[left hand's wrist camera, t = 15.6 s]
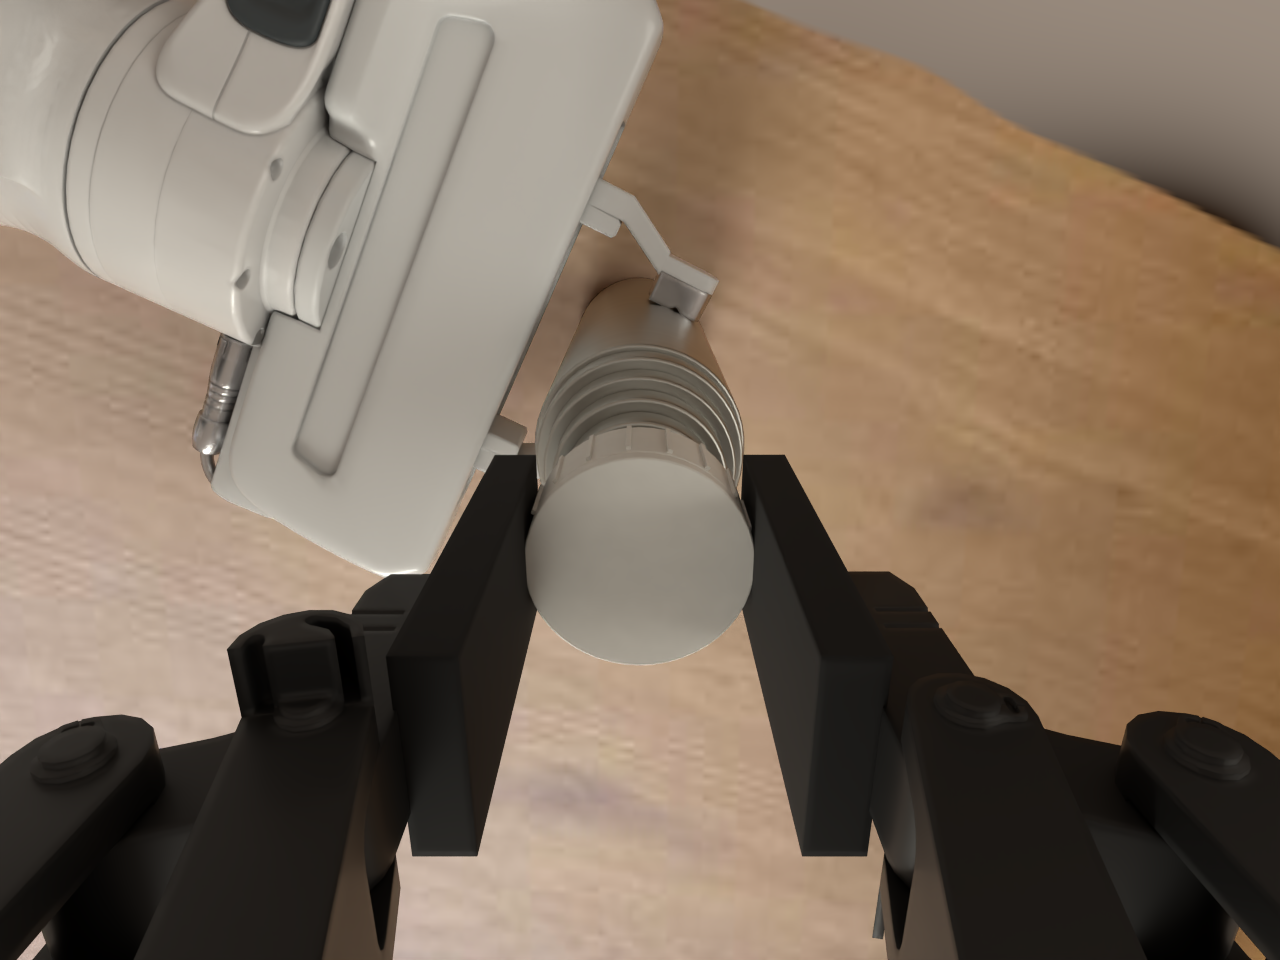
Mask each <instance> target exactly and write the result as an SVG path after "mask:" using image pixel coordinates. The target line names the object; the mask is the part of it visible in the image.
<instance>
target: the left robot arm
mask: <svg viewBox="0 0 1280 960" xmlns="http://www.w3.org/2000/svg"><path fill="white" fill-rule="evenodd" d="M537 493H538V484H537V464H536V455H494V457H493V459H492V461H491V463H490V465H489V466H488V468H487V470H486V472H485V474H484V476H483V478H482V479H481V481H480V483H479V485H478V487H477V489H476V490H475V492H474V494H473V496H472V498H471V500H470V502H469V503H468V505H467V507H466V509H465V511H464V513H463V514H462V516H461V518H460V520H459V522H458V524H457V526H456V527H455V529H454V531H453V533H452V535H451V537H450V538H449V540H448V542H447V544H446V546H445V548H444V550H443V551H442V553H441V555H440V557H439V559H438V561H437V562H436V564H435V566H434V568H433V570H432V572H431V574H390V575H389V576H387V577H386V578H384V579H383V580H381V581H380V582H378V583H377V584H375V585H374V586H372V587H371V588H369V589H368V590H366V591H365V592H364V594H363V595H362V597H361V598H360V600H359V601H358V603H357V604H356V605H355V607H354V608H353V610H352V614H346V613H342V612H338V611H334V610H308V611H302V612H297V613H291V614H286V615H282V616H279V617H276V618H274V619H271V620H268V621H265V622H262V623H260V624H258V625H256V626H255V627H253V628H251V629H250V630H248V631H246V632H245V633H243V634H241V635H239V637H238V638H237V639H236V640H235V641H234V642H233V643H232V644H231V645H230V647H229V648H228V649H227V652H228V656H229V661H230V666H231V670H232V675H233V679H234V684H235V689H236V693H237V698H238V703H239V707H240V712H241V716H242V718H241V720H240V722H239V725H238V727H237V729H236V731H235V732H234V733H230V734H227V735H223V736H219V737H215V738H211V739H206V740H201V741H196V742H191V743H187V744H182V745H177V746H172V747H167V748H162V749H159V748H158V744H157V740H156V736H155V733H154V729H153V727H152V726H150V725H149V724H148V723H147V722H146V721H144V720H143V719H142V718H137V717H132V716H126V715H112V716H100V717H92V718H87V719H82V721H79V722H78V721H75V722H72V723H69V724H66V725H63V726H61V727H59V728H58V729H56V730H53V731H51V732H49V733H47V734H45V735H42V736H40V737H38V738H36V739H34V740H33V741H31V742H30V743H28V744H27V745H25V746H24V747H22V748H21V749H20V750H18V751H17V752H15V753H14V754H12V755H11V756H10V757H8V758H7V759H6V760H5V761H4V762H2V763H1V764H0V960H17V959H18V957H19V956H20V955H21V954H22V953H23V952H24V950H25V949H26V948H27V947H28V946H29V945H30V944H31V942H32V941H33V940H34V939H35V938H36V937H37V935H38V934H39V933H40V932H41V931H42V933H43V936H44V939H45V941H46V944H45V945H44V947H43V948H42V949H41V950H40V951H39V953H38V954H37V955H36V956H35V957H34V959H33V960H393V950H394V941H395V932H396V923H397V914H398V905H399V896H400V881H399V874H398V867H397V860H396V852H397V849H398V846H399V844H400V841H401V838H402V835H403V833H404V830H405V827H406V825H407V822H408V827H409V834H410V842H411V849H412V856H477V855H478V851H479V847H480V843H481V839H482V835H483V831H484V826H485V822H486V818H487V814H488V810H489V806H490V802H491V798H492V793H493V789H494V785H495V781H496V777H497V773H498V769H499V765H500V760H501V756H502V752H503V748H504V744H505V740H506V736H507V732H508V727H509V723H510V719H511V715H512V711H513V707H514V703H515V699H516V694H517V690H518V686H519V682H520V678H521V674H522V670H523V666H524V661H525V657H526V653H527V649H528V645H529V641H530V637H531V633H532V628H533V624H534V620H535V616H536V612H537V608H536V607H535V605H534V603H533V600H532V598H531V596H530V594H529V590H528V587H527V573H526V556H525V543H526V538H527V535H528V532H529V528H530V525H531V522H532V519H533V516H534V515H533V514H531V511H532V508H533V505H534V502H535V499H536V496H537ZM741 500H743V502H744V505H745V508H746V511H747V514H748V517H749V520H750V523H751V526H752V529H751V534H752V537H753V542H754V562H753V579H752V587H751V591H750V594H749V596H748V598H747V601H746V603H745V605H744V607H743V608H742V610H743V614H744V618H745V622H746V627H747V631H748V635H749V639H750V643H751V647H752V651H753V655H754V660H755V664H756V668H757V672H758V676H759V680H760V684H761V688H762V693H763V697H764V701H765V705H766V709H767V713H768V717H769V721H770V726H771V730H772V734H773V738H774V742H775V746H776V750H777V754H778V759H779V763H780V767H781V771H782V775H783V779H784V783H785V787H786V792H787V796H788V800H789V804H790V808H791V812H792V816H793V820H794V825H795V829H796V833H797V837H798V841H799V845H800V849H801V853H802V856H867V853H868V845H869V838H870V830H871V823H872V819H873V822H874V825H875V828H876V830H877V833H878V836H879V838H880V841H881V844H882V847H883V849H884V852H885V853H884V860H883V867H882V874H881V881H880V888H879V895H878V902H877V909H876V916H875V923H874V930H873V937H872V938H878V939H883V934H884V931H885V940H886V949H887V958H888V960H1251V959H1250V958H1249V957H1248V956H1247V955H1246V954H1245V952H1244V951H1243V950H1242V949H1241V948H1240V946H1239V945H1238V944H1237V943H1236V942H1235V941H1234V939H1235V937H1236V934H1237V931H1238V928H1239V927H1240V928H1241V929H1242V930H1243V932H1244V933H1245V934H1246V935H1247V936H1248V937H1249V938H1250V940H1251V941H1252V942H1253V943H1254V944H1255V945H1256V947H1257V948H1258V949H1259V950H1260V951H1261V952H1262V954H1263V955H1264V956H1265V957H1266V959H1265V960H1280V760H1279V759H1278V758H1277V757H1276V756H1274V755H1273V754H1272V753H1271V752H1270V751H1268V750H1267V749H1265V748H1264V747H1262V746H1261V745H1259V744H1258V743H1256V742H1255V741H1253V740H1252V739H1250V738H1249V737H1247V736H1246V735H1244V734H1242V733H1240V732H1237V731H1235V730H1233V729H1231V728H1228V727H1226V726H1224V725H1222V724H1221V723H1219V722H1217V721H1214V720H1211V719H1208V718H1204V717H1202V718H1200V717H1199V716H1197V715H1191V714H1186V713H1175V712H1164V711H1156V712H1151V713H1145V714H1140V715H1137V716H1136V717H1135V718H1134V719H1133V720H1132V721H1130V722H1129V723H1128V724H1127V726H1126V730H1125V734H1124V738H1123V741H1122V745H1121V746H1120V745H1115V744H1110V743H1105V742H1100V741H1095V740H1090V739H1085V738H1080V737H1075V736H1070V735H1066V734H1062V733H1058V732H1055V731H1051V730H1047V729H1044V728H1043V726H1042V723H1041V721H1040V719H1039V717H1038V715H1037V714H1036V713H1035V711H1034V710H1033V709H1032V707H1031V706H1030V705H1029V703H1028V702H1027V701H1026V700H1024V699H1023V698H1021V697H1020V696H1019V695H1017V694H1016V693H1014V692H1013V691H1011V690H1010V689H1009V688H1007V687H1004V686H1002V685H999V684H997V683H995V682H992V681H990V680H987V679H985V678H981V677H976V676H974V675H973V673H972V672H971V670H970V669H969V667H968V666H967V664H966V663H965V662H964V660H963V659H962V657H961V656H960V654H959V653H958V651H957V650H956V648H955V647H954V645H953V644H952V643H951V641H950V640H949V638H948V637H947V635H946V634H945V632H944V631H943V629H942V628H939V624H938V622H937V621H936V619H935V618H934V616H933V615H932V613H931V612H928V608H927V606H926V605H925V603H924V602H923V600H922V599H921V597H920V596H919V594H918V593H917V591H916V590H915V589H914V588H913V587H912V586H910V585H909V584H907V583H906V582H904V581H903V580H901V579H899V578H898V577H896V576H895V575H893V574H892V573H890V572H848V571H847V569H846V567H845V565H844V564H843V562H842V560H841V558H840V556H839V554H838V552H837V551H836V549H835V547H834V545H833V543H832V541H831V540H830V538H829V536H828V534H827V532H826V530H825V528H824V527H823V525H822V523H821V521H820V519H819V517H818V516H817V514H816V512H815V510H814V508H813V506H812V504H811V503H810V501H809V499H808V497H807V495H806V493H805V492H804V490H803V488H802V486H801V484H800V482H799V480H798V479H797V477H796V475H795V473H794V471H793V469H792V468H791V466H790V464H789V462H788V460H787V458H786V456H785V455H743V473H742V493H741Z"/></svg>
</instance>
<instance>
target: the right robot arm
mask: <svg viewBox="0 0 1280 960" xmlns="http://www.w3.org/2000/svg"><path fill="white" fill-rule="evenodd" d="M662 37H663V20H662V16H661V13H660V10H659V7H658V5H657V2H656V0H0V225H2V226H8V227H13V228H17V229H21V230H24V231H27V232H29V233H31V234H33V235H36V236H38V237H40V238H41V239H43V240H45V241H46V242H48V243H50V244H51V245H52V246H54V247H55V248H56V249H57V250H58V251H60V252H61V253H62V254H63V255H64V256H66V257H67V258H68V259H70V260H71V261H72V262H73V263H75V264H76V265H77V266H79V267H80V268H82V269H83V270H85V271H86V272H88V273H90V274H92V275H94V276H96V277H98V278H100V279H102V280H105V281H107V282H109V283H112V284H114V285H116V286H118V287H121V288H123V289H125V290H127V291H129V292H132V293H134V294H136V295H138V296H141V297H143V298H145V299H147V300H150V301H152V302H154V303H156V304H159V305H161V306H163V307H165V308H168V309H170V310H172V311H174V312H177V313H179V314H181V315H183V316H185V317H187V318H190V319H192V320H194V321H196V322H199V323H201V324H203V325H205V326H208V327H210V328H212V329H214V330H217V331H219V332H221V335H220V337H219V341H218V344H217V349H216V352H215V356H214V359H213V363H212V366H211V371H210V375H209V382H208V389H207V394H206V398H205V402H204V405H203V408H202V410H200V411H199V413H198V415H197V418H196V421H195V424H194V428H193V434H192V446H193V448H195V449H196V450H197V451H199V452H200V457H201V464H202V468H203V471H204V473H205V476H206V477H207V479H208V481H209V482H210V483H211V487H212V489H213V491H214V492H215V493H216V494H217V495H219V496H220V497H221V498H223V499H225V500H226V501H228V502H230V503H232V504H235V505H237V506H240V507H242V508H245V509H247V510H249V511H252V512H254V513H257V514H259V515H261V516H264V517H267V518H272V519H274V520H276V521H277V522H279V523H281V524H282V525H284V526H286V527H287V528H289V529H290V530H292V531H294V532H295V533H297V534H299V535H301V536H302V537H304V538H306V539H307V540H309V541H311V542H313V543H315V544H316V545H318V546H320V547H322V548H324V549H326V550H327V551H329V552H331V553H333V554H335V555H337V556H339V557H341V558H343V559H345V560H347V561H349V562H350V563H352V564H354V565H357V566H359V567H361V568H363V569H365V570H367V571H369V572H371V573H374V574H376V575H379V576H381V577H384V578H386V577H387V576H389V575H390V574H423V573H425V572H426V571H427V570H428V569H429V568H430V566H431V564H432V563H433V561H434V560H435V558H436V556H437V555H438V553H439V551H440V549H441V547H442V545H443V543H444V541H445V539H446V536H447V534H448V532H449V530H450V528H451V525H452V523H453V521H454V518H455V516H456V514H457V511H458V509H459V507H460V505H461V502H462V500H463V498H464V495H465V493H466V491H467V489H468V486H469V484H470V482H471V479H472V477H473V475H474V472H475V470H476V469H478V470H480V471H482V472H486V470H487V468H488V466H489V465H490V463H491V461H492V459H493V457H494V455H536V451H535V443H523V440H524V438H525V436H526V434H527V432H528V431H527V428H526V427H525V426H522V425H520V424H518V423H516V422H514V421H512V420H509V419H507V418H505V417H503V416H501V415H500V413H501V410H502V408H503V406H504V404H505V401H506V399H507V397H508V394H509V392H510V390H511V387H512V385H513V383H514V381H515V378H516V376H517V374H518V371H519V369H520V367H521V364H522V362H523V360H524V358H525V355H526V353H527V351H528V348H529V346H530V344H531V341H532V339H533V337H534V335H535V332H536V330H537V328H538V325H539V323H540V321H541V319H542V316H543V314H544V312H545V309H546V307H547V305H548V302H549V300H550V298H551V296H552V293H553V291H554V289H555V286H556V284H557V282H558V279H559V277H560V275H561V273H562V270H563V268H564V266H565V263H566V261H567V259H568V256H569V254H570V252H571V250H572V247H573V245H574V243H575V240H576V238H577V236H578V234H579V231H580V229H581V227H582V224H584V225H586V226H588V227H590V228H592V229H594V230H596V231H598V232H600V233H602V234H604V235H606V236H608V237H610V238H612V237H614V236H616V234H617V232H618V230H619V228H620V226H621V224H622V221H623V222H624V223H625V225H626V226H627V228H628V229H629V231H630V232H631V234H632V235H633V237H634V238H635V240H636V241H637V243H638V244H639V246H640V247H641V249H642V250H643V252H644V253H645V255H646V256H647V258H648V259H649V261H650V262H651V264H652V265H653V267H654V268H655V270H656V271H657V275H656V277H655V279H654V281H653V284H652V286H651V288H650V290H649V300H651V301H653V302H655V303H657V304H659V305H661V306H664V307H666V308H675V307H676V308H677V309H678V311H679V313H680V314H681V315H683V316H684V317H686V318H688V319H690V320H692V321H695V322H698V321H699V319H700V317H701V315H702V313H703V311H704V310H705V308H706V306H707V304H708V302H709V300H710V298H711V296H712V294H713V292H714V290H715V288H716V286H717V284H718V282H719V280H718V279H717V278H716V277H715V276H713V275H712V274H710V273H708V272H707V271H705V270H703V269H701V268H699V267H697V266H695V265H693V264H691V263H689V262H687V261H685V260H683V259H681V258H679V257H677V256H675V255H673V254H671V253H670V250H669V248H668V246H667V245H666V243H665V241H664V240H663V238H662V237H661V235H660V234H659V232H658V231H657V229H656V228H655V226H654V224H653V223H652V221H651V220H650V218H649V217H648V215H647V214H646V212H645V211H644V209H643V208H642V206H641V204H640V203H639V201H638V200H637V198H636V197H635V196H634V195H633V194H631V193H629V192H627V191H625V190H623V189H621V188H619V187H617V186H615V185H613V184H611V183H609V182H607V181H605V180H603V179H602V178H603V176H604V174H605V171H606V169H607V167H608V165H609V162H610V160H611V158H612V155H613V153H614V151H615V149H616V146H617V144H618V142H619V139H620V137H621V135H622V132H623V130H624V128H625V126H626V123H627V121H628V119H629V116H630V114H631V112H632V109H633V107H634V105H635V103H636V100H637V98H638V96H639V93H640V91H641V89H642V86H643V84H644V82H645V80H646V77H647V75H648V73H649V70H650V68H651V66H652V63H653V61H654V59H655V56H656V54H657V52H658V50H659V47H660V44H661V41H662ZM216 454H220V455H219V458H218V462H217V465H216V466H215V462H214V455H216ZM536 464H537V460H536ZM537 479H540V478H539V474H538V469H537Z"/></svg>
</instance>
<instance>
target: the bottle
mask: <svg viewBox="0 0 1280 960" xmlns="http://www.w3.org/2000/svg"><path fill="white" fill-rule="evenodd" d="M653 281H654V280H653V279H648V278H632V279H626V280H622V281H619V282H616V283H614V284H612V285H610V286H608V287H607V288H605V289H604V290H602V291H601V292H600V293H599V294H598V295H597V296H596V297H595V298H594V299H593V300H592V301H591V302H590V304H589V305H588V307H587V308H586V310H585V312H584V314H583V316H582V319H581V321H580V323H579V325H578V328H577V330H576V332H575V334H574V337H573V339H572V341H571V343H570V346H569V348H568V350H567V352H566V355H565V357H564V359H563V361H562V364H561V366H560V368H559V370H558V373H557V375H556V377H555V379H554V381H553V384H552V386H551V388H550V390H549V393H548V395H547V397H546V399H545V402H544V404H543V406H542V409H541V412H540V415H539V418H538V422H537V427H536V434H535V451H536V460H537V469H538V474H539V478H540V482H541V484H542V485H544V484H545V482H546V480H547V478H548V477H549V475H550V474H551V472H552V471H553V469H554V468H555V466H556V465H557V463H558V460H559V457H560V456H561V455H563V456H564V457H565V456H566V455H567V454H568V453H569V452H570V451H571V450H573V449H574V448H575V447H577V446H578V445H580V444H582V443H583V442H585V441H587V440H589V437H590V436H591V435H593V434H594V436H597V435H600V434H603V433H606V432H609V431H612V430H617V429H622V428H627V425H631V426H632V428H633V427H646V428H656V429H662V430H665V429H666V428H669V429H670V431H671V432H673V433H676V434H680V435H682V436H684V437H686V438H688V439H690V440H693V441H694V442H696V443H697V444H699V445H700V444H701V443H703V444H704V445H705V448H706V450H707V451H709V452H710V453H711V454H712V455H713V456H715V457H716V459H717V460H718V461H719V462H720V463H721V464H722V465H723V466H724V468H725V469H727V468H729V469H730V471H731V474H732V477H733V480H734V483H735V486H736V488H737V486H738V482H739V479H740V475H741V470H742V463H743V455H744V432H743V425H742V421H741V417H740V414H739V410H738V408H737V406H736V404H735V401H734V399H733V397H732V394H731V392H730V390H729V388H728V385H727V383H726V381H725V379H724V376H723V374H722V372H721V370H720V367H719V365H718V363H717V361H716V358H715V356H714V354H713V352H712V349H711V347H710V345H709V343H708V340H707V338H706V336H705V334H704V331H703V329H702V327H701V324H700V322H699V321H698V322H695V321H692V320H690V319H688V318H686V317H684V316H683V315H681V314H680V313H679V311H678V309H677V308H676V307H675V308H666V307H664V306H661V305H659V304H657V303H655V302H653V301H651V300H649V290H650V288H651V286H652V284H653Z"/></svg>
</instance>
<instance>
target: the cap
mask: <svg viewBox="0 0 1280 960" xmlns="http://www.w3.org/2000/svg"><path fill="white" fill-rule="evenodd" d="M531 514H533V515H534V516H533V519H532V522H531V525H530V528H529V532H528V535H527V538H526V543H525V556H526V573H527V587H528V590H529V594H530V596H531V598H532V600H533V603H534V605H535V607H536V608H537V610H538V612H539V613H540V615H541V616H542V618H543V619H544V620H545V622H546V623H547V624H548V625H549V626H550V628H551V629H552V630H553V631H554V632H555V633H556V634H558V635H559V636H560V637H561V638H562V639H563V640H565V641H566V642H567V643H569V644H570V645H572V646H573V647H575V648H577V649H578V650H580V651H582V652H584V653H586V654H588V655H591V656H593V657H596V658H598V659H602V660H605V661H609V662H613V663H619V664H625V665H655V664H660V663H666V662H670V661H674V660H677V659H681V658H684V657H686V656H688V655H691V654H693V653H695V652H697V651H699V650H701V649H702V648H704V647H706V646H708V645H709V644H710V643H712V642H713V641H714V640H716V639H717V638H718V637H719V636H720V635H722V634H723V633H724V632H725V631H726V630H727V629H728V628H729V627H730V625H731V624H732V623H733V622H734V620H735V619H736V618H737V617H738V615H739V613H740V612H741V610H742V608H743V607H744V605H745V603H746V601H747V598H748V596H749V594H750V591H751V587H752V579H753V562H754V542H753V537H752V534H751V529H752V526H751V523H750V520H749V517H748V514H747V511H746V508H745V505H744V502H743V500H740V497H739V494H738V491H737V489H736V486H735V483H734V480H733V477H732V474H731V471H730V469H729V468H727V469H725V468H724V466H723V465H722V464H721V463H720V462H719V461H718V460H717V459H716V457H715V456H713V455H712V454H711V453H710V452H709V451H707V450H706V448H705V445H704V444H703V443H701V444H700V445H699V444H697V443H696V442H694V441H693V440H690V439H688V438H686V437H684V436H682V435H680V434H676V433H673V432H671V431H670V429H669V428H666V429H665V430H662V429H656V428H646V427H633V428H632V426H631V425H627V428H622V429H617V430H612V431H609V432H606V433H603V434H600V435H597V436H594V434H593V435H591V436H590V437H589V440H587V441H585V442H583V443H582V444H580V445H578V446H577V447H575V448H574V449H573V450H571V451H570V452H569V453H568V454H567V455H566V456H565V457H564V456H563V455H561V456H560V457H559V460H558V463H557V465H556V466H555V468H554V469H553V471H552V472H551V474H550V475H549V477H548V478H547V480H546V482H545V484H544V485H542V484H541V485H540V487H539V490H538V493H537V496H536V499H535V502H534V505H533V508H532V511H531Z"/></svg>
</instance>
